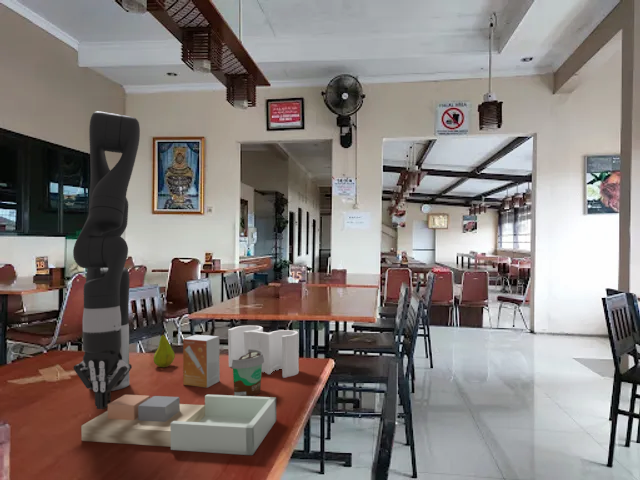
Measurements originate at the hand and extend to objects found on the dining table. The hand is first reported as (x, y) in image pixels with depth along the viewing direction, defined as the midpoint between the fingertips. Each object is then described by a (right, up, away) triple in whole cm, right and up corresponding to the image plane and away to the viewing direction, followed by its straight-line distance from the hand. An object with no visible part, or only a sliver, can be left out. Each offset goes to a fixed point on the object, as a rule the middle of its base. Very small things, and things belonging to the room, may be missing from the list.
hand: (103, 407), depth 95 cm
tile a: (+6, -1, -1) cm, 6 cm away
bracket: (+30, -5, +43) cm, 53 cm away
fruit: (-4, -5, +47) cm, 48 cm away
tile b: (+13, -1, -2) cm, 13 cm away
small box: (+13, -4, +29) cm, 32 cm away
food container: (+29, -4, +20) cm, 36 cm away
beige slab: (+10, -4, -2) cm, 11 cm away
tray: (+28, -4, -5) cm, 28 cm away
